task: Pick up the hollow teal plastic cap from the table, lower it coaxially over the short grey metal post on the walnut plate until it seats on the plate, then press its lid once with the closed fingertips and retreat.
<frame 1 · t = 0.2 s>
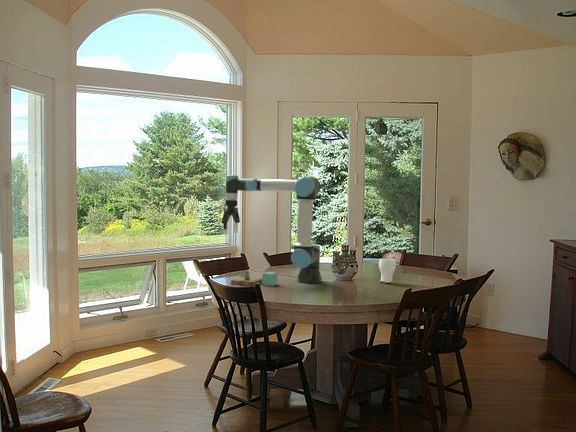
hand: (230, 233, 390), 28 cm above the table, tool pointing down, fingers open, 13 cm apart
stand: (246, 283, 371), on the table
cap: (269, 284, 371), on the table
cup: (386, 283, 391), on the table
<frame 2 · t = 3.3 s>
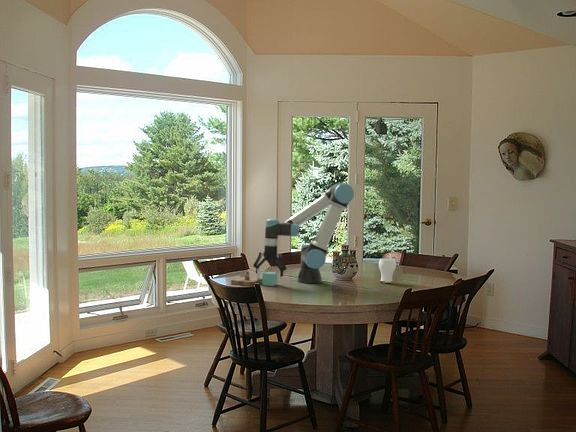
hand: (268, 280, 370), 2 cm above the table, tool pointing down, fingers open, 13 cm apart
nothing on the table moved.
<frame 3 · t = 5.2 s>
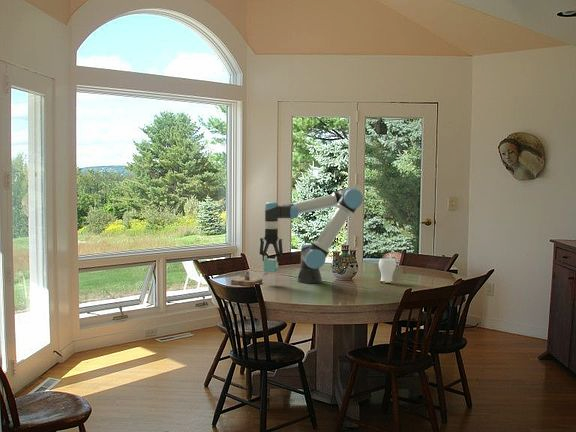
hand: (271, 266, 370), 11 cm above the table, tool pointing down, fingers closed on cap, 7 cm apart
cap: (270, 271, 370), point 8 cm above the table, touching gripper
everything else where it was.
when the fingers open (3 cm above the table, at t = 9.0 s): cap stays where it is, resting on stand.
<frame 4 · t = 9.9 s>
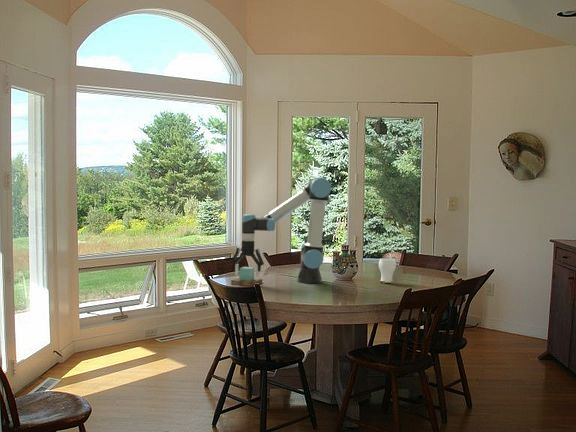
hand: (247, 275, 371), 5 cm above the table, tool pointing down, fingers open, 13 cm apart
cap: (246, 279, 371), point 2 cm above the table, touching stand
everything else where it was.
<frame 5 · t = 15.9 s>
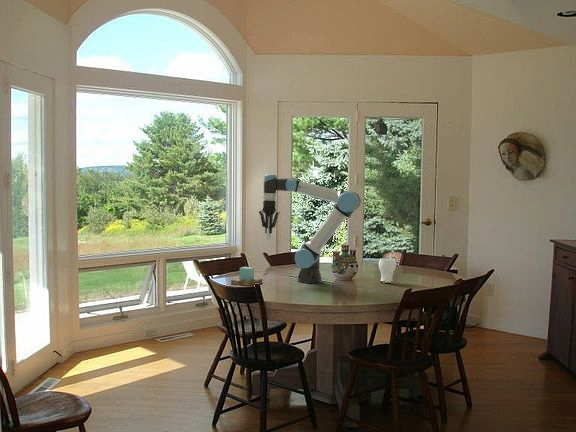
hand: (268, 238, 378), 26 cm above the table, tool pointing down, fingers closed
nothing on the table moved.
at the end: cap 0.1 cm off-centre on the stand, point 2.5 cm above the stand's base; cap tilted 0°; the gripper is holding nothing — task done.
